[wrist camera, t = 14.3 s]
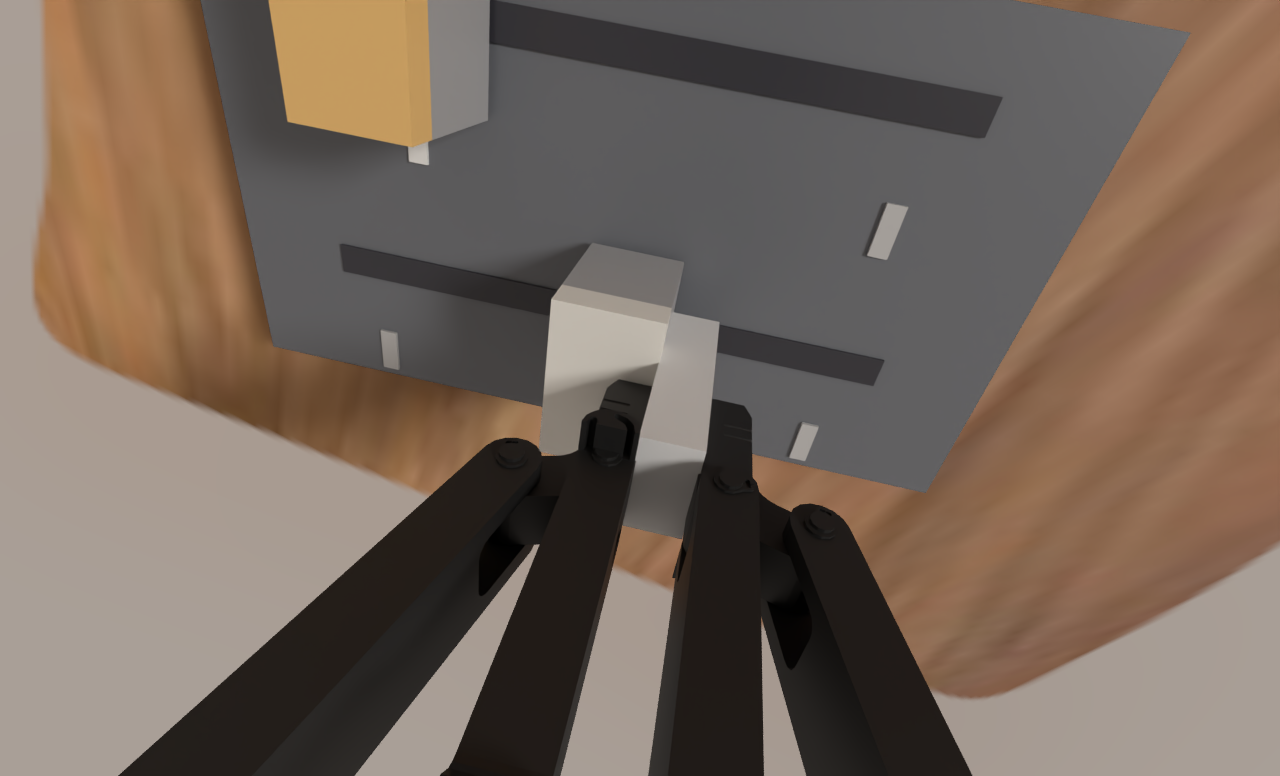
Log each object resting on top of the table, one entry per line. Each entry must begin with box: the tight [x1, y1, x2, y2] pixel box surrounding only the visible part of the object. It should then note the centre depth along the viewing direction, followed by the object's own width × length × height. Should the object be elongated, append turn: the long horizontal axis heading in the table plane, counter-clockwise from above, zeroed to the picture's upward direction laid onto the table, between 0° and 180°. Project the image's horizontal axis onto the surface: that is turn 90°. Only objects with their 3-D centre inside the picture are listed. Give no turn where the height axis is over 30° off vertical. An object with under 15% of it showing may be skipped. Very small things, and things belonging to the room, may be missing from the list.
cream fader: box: [539, 243, 684, 456], centre depth 18 cm, size 5×3×5 cm, turn 171°
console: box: [201, 0, 1190, 493], centre depth 20 cm, size 15×26×3 cm, turn 81°
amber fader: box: [268, 0, 490, 147], centre depth 14 cm, size 5×3×5 cm, turn 171°
